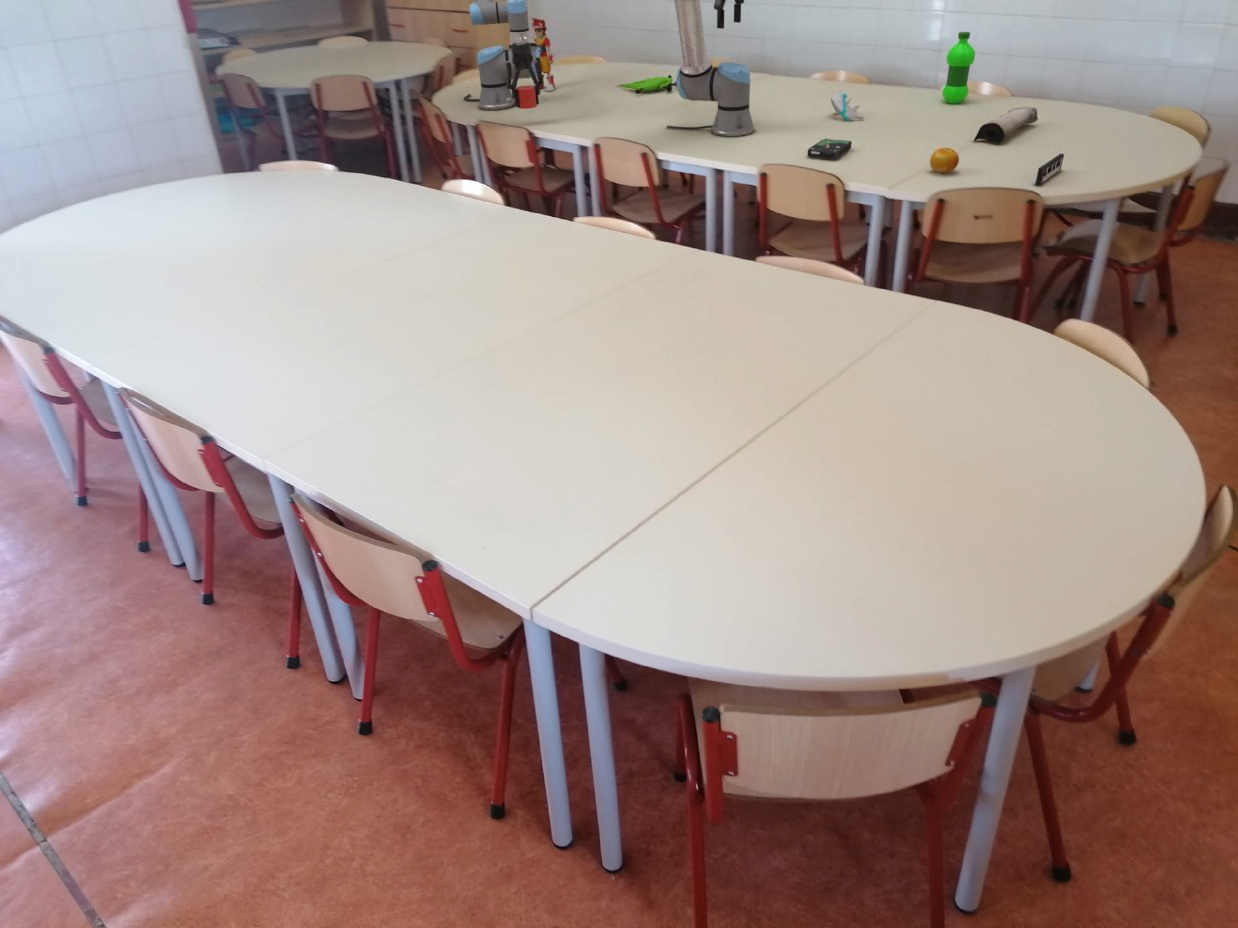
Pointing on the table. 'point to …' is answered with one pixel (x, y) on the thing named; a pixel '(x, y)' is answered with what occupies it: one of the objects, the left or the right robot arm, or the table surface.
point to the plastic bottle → (958, 69)
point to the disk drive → (829, 149)
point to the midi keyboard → (1049, 169)
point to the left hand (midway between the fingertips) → (527, 105)
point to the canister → (527, 97)
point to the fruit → (944, 160)
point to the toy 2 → (651, 84)
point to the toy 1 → (543, 51)
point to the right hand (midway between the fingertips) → (729, 25)
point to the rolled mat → (1006, 124)
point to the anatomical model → (845, 107)
